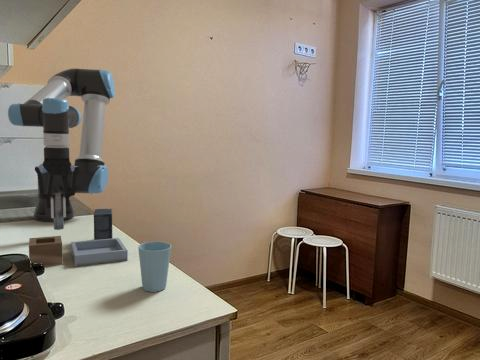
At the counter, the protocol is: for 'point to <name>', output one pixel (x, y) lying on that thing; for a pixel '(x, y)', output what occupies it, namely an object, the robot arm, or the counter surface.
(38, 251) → the wooden slotted block
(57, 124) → the robot arm
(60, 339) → the counter surface
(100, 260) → the tray
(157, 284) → the cup
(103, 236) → the box
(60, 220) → the pin gauge
